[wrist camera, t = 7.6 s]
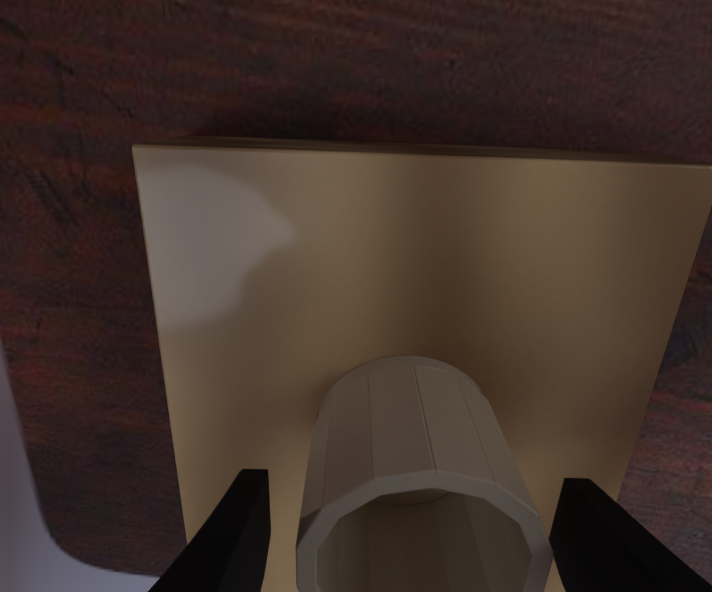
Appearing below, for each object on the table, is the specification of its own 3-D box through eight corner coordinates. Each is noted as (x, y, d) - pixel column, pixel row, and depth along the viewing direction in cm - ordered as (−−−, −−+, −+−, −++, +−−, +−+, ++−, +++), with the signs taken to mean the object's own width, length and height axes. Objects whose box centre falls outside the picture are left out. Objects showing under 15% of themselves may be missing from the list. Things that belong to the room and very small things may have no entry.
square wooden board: (223, 521, 20) (195, 607, 17) (185, 135, 14) (129, 143, 11) (541, 530, 20) (580, 618, 17) (636, 151, 14) (727, 165, 11)
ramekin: (314, 499, 15) (297, 652, 11) (314, 349, 13) (293, 465, 9) (479, 504, 15) (527, 657, 11) (505, 355, 13) (577, 474, 9)
